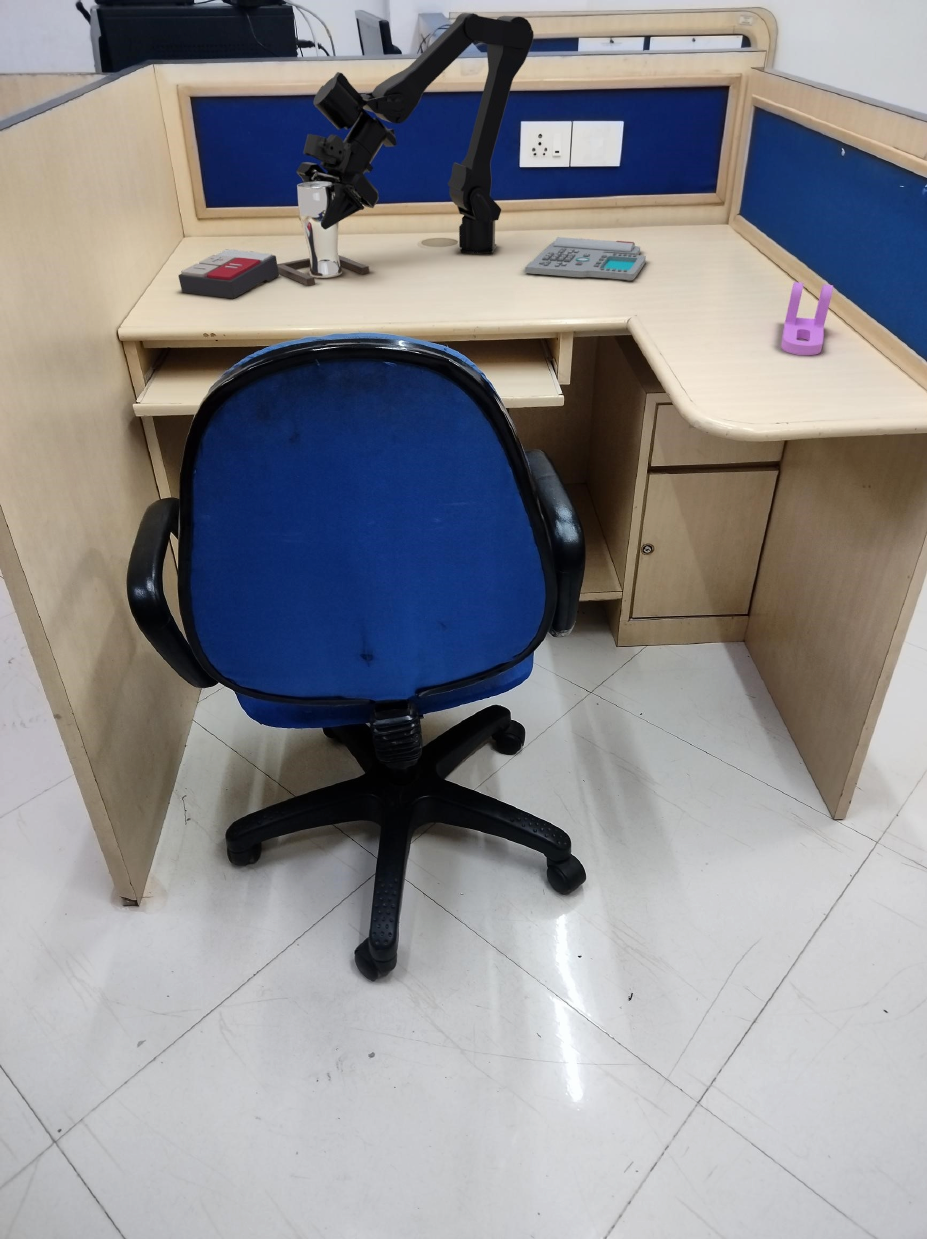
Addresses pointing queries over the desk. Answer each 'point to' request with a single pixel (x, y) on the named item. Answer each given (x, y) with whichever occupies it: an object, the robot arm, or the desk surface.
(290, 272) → the frame
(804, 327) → the bracket
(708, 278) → the desk surface
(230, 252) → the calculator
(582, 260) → the office telephone
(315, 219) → the beer glass
